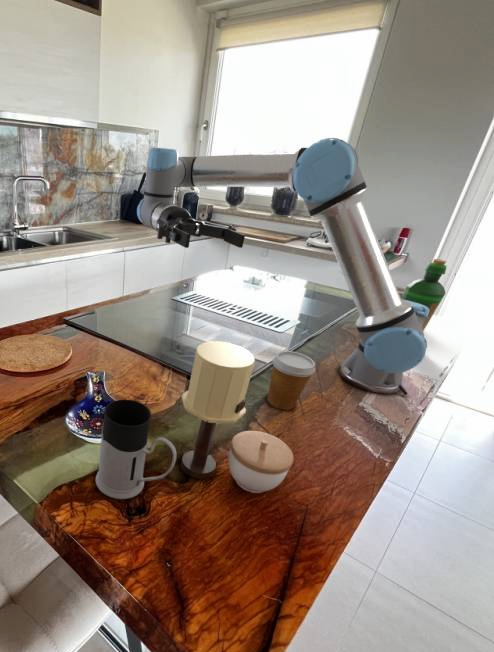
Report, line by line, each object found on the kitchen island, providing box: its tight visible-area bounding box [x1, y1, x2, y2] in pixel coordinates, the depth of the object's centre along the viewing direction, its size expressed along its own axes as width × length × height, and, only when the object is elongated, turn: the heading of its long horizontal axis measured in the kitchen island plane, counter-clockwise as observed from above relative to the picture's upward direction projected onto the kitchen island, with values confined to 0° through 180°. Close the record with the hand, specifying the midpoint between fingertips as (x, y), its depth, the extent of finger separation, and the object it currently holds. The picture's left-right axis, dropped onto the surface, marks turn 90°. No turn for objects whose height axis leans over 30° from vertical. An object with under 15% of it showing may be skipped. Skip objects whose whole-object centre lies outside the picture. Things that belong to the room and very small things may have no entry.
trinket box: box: [227, 430, 294, 494], centre depth 74 cm, size 11×11×9 cm
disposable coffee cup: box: [266, 350, 316, 411], centre depth 98 cm, size 10×10×12 cm
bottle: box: [402, 258, 448, 332], centre depth 134 cm, size 11×11×28 cm
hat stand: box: [180, 419, 217, 480], centre depth 73 cm, size 6×6×24 cm
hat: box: [181, 340, 256, 425], centre depth 69 cm, size 10×10×10 cm
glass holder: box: [95, 399, 178, 500], centre depth 69 cm, size 9×14×15 cm, turn 50°
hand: (216, 241), depth 89 cm, fingers open, 13 cm apart
